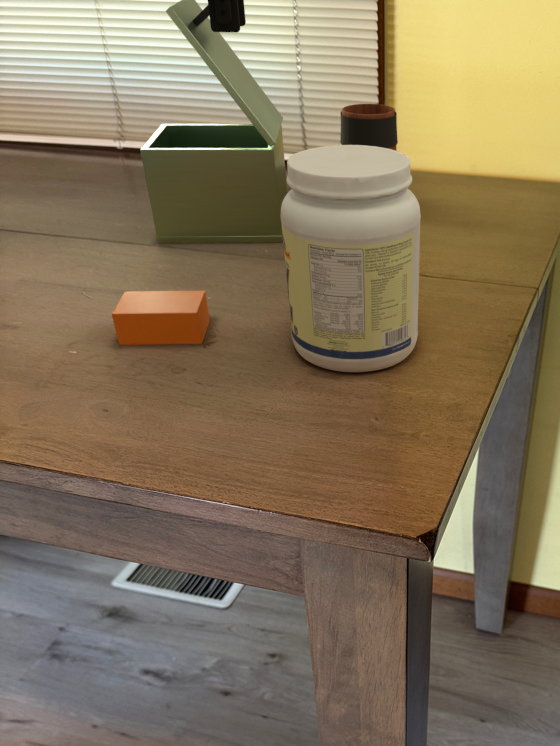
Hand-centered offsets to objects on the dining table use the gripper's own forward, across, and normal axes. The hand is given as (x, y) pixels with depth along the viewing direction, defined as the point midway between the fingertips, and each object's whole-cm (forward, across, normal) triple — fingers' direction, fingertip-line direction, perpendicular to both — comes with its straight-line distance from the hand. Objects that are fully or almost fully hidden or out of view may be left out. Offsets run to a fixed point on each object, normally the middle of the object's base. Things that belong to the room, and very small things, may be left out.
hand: (228, 26), depth 87 cm
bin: (+22, 0, -3) cm, 22 cm away
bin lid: (+5, 0, -1) cm, 5 cm away
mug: (+22, -13, +16) cm, 30 cm away
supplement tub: (+22, +37, +14) cm, 45 cm away
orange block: (+22, +33, -5) cm, 40 cm away
